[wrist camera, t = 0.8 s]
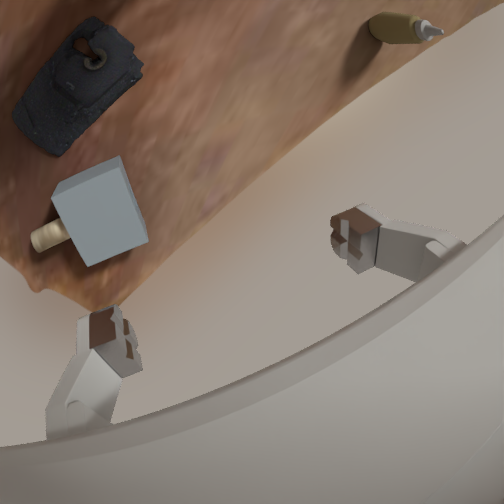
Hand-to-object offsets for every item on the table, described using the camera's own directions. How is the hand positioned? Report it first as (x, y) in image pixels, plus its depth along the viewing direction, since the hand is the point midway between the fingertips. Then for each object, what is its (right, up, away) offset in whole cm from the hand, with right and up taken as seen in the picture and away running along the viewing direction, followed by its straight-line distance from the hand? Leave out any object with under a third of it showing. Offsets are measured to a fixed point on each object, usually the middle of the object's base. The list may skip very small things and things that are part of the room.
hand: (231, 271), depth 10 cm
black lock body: (-28, +27, +25) cm, 46 cm away
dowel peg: (-33, +6, +34) cm, 48 cm away
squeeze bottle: (+28, +51, +37) cm, 69 cm away
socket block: (-26, +9, +37) cm, 46 cm away
